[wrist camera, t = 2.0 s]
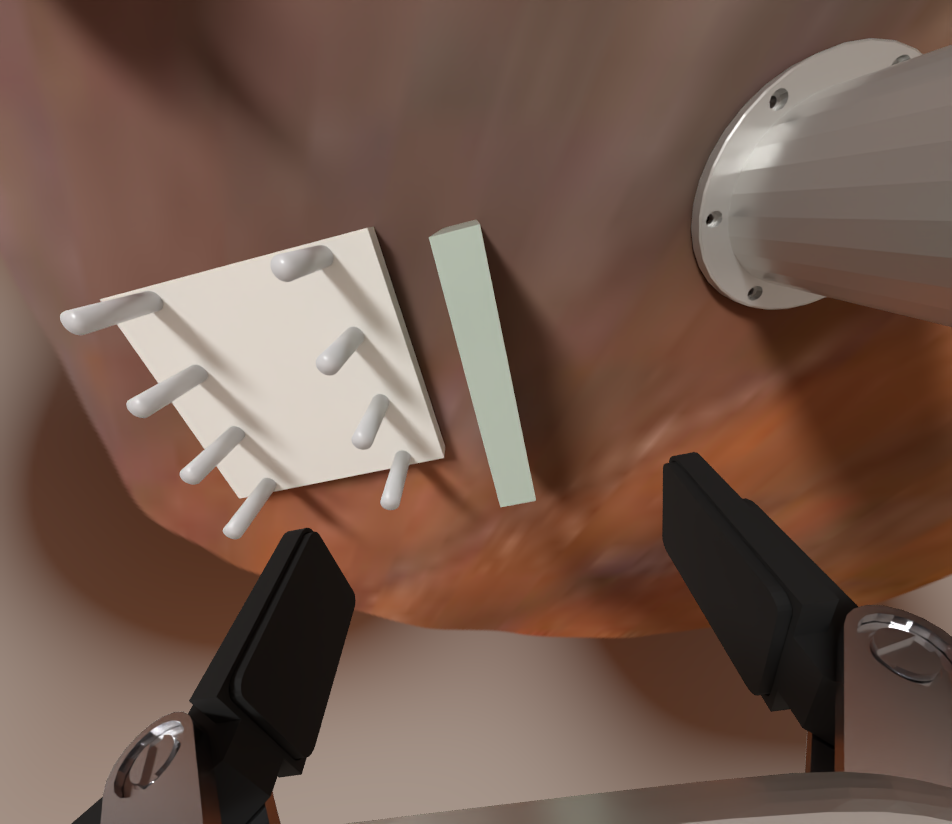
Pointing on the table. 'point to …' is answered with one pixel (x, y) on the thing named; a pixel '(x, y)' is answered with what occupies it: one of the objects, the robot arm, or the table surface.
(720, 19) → the table surface
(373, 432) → the dish rack
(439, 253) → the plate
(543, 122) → the table surface
